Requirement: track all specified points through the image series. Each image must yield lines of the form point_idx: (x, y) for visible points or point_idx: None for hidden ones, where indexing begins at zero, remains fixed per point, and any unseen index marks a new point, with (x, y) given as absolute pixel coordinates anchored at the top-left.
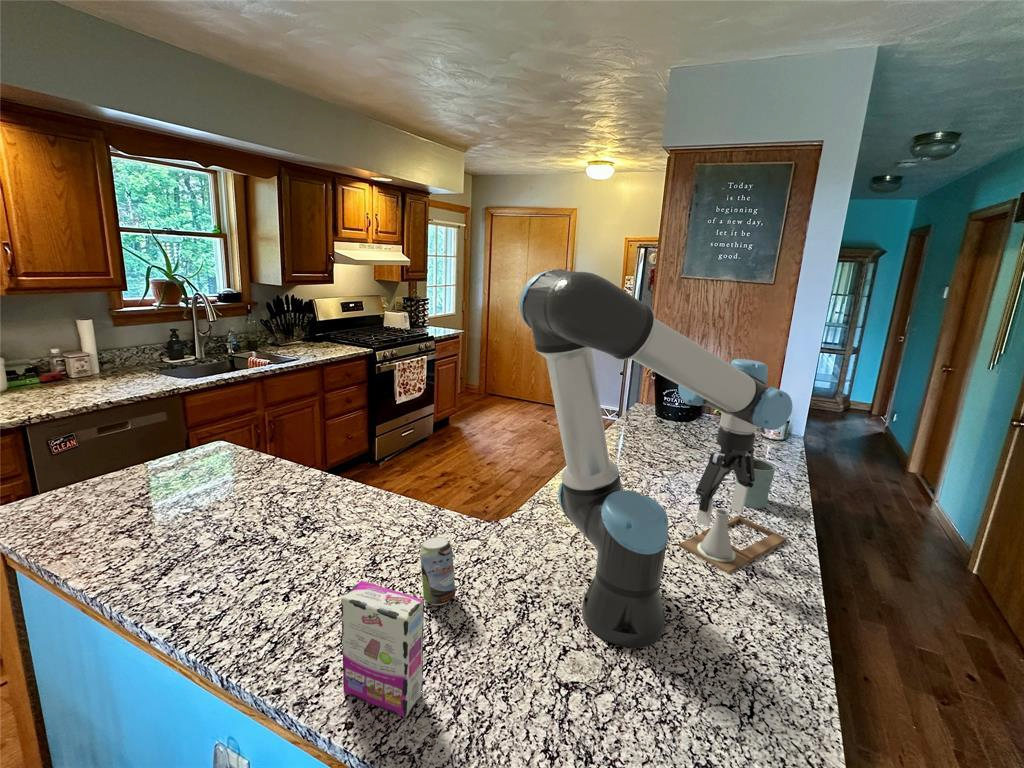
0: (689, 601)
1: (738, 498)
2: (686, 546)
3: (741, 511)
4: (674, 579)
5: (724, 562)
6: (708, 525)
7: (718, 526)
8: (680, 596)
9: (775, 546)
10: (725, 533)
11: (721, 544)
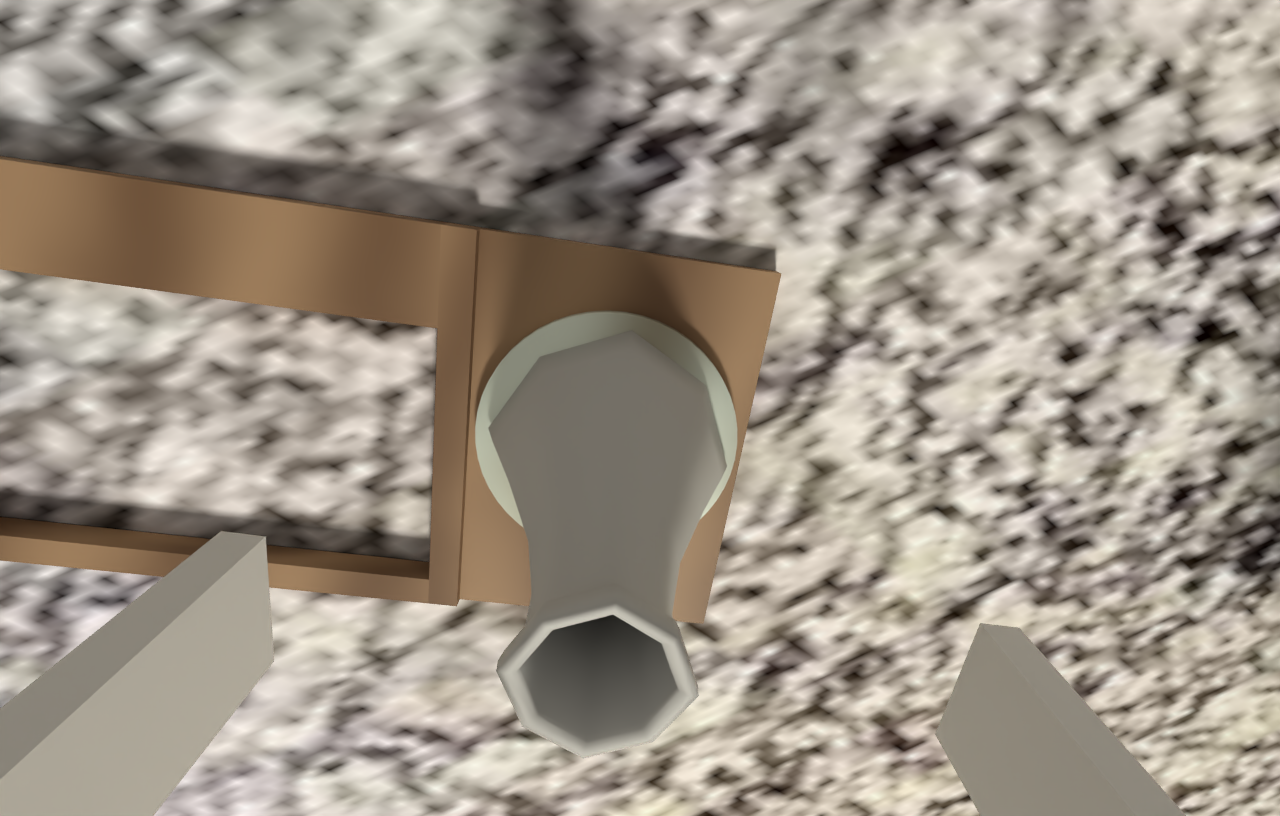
0: (1257, 303)
1: (123, 757)
2: (699, 582)
3: (244, 550)
4: (1081, 463)
5: (691, 342)
6: (1008, 632)
7: (671, 563)
8: (1236, 361)
9: (65, 167)
10: (634, 472)
11: (679, 432)
